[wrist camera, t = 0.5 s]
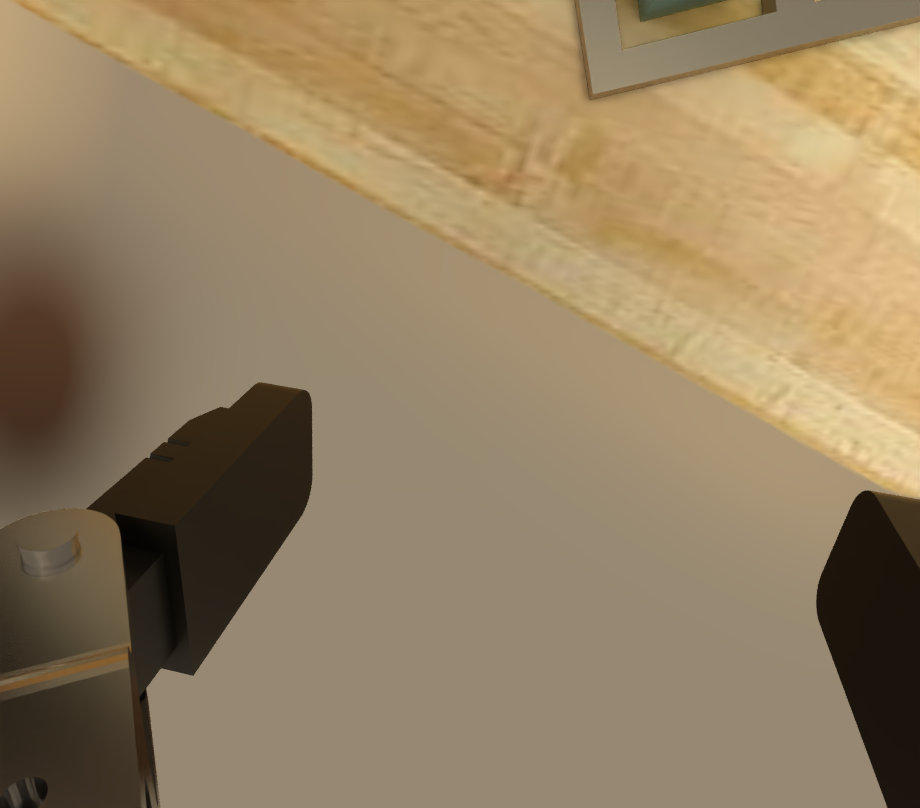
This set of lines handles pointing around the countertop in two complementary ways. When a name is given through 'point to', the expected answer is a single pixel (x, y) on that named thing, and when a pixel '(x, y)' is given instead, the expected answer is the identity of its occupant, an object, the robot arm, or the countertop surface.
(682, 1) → the block
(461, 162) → the countertop surface
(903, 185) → the countertop surface
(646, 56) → the frame
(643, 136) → the countertop surface
